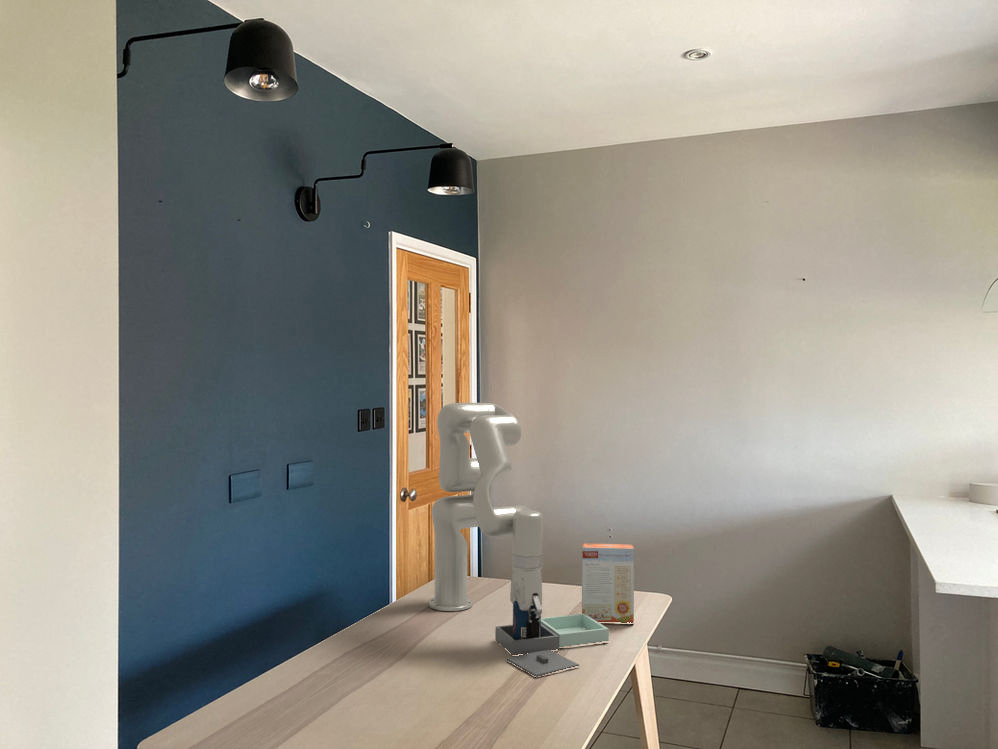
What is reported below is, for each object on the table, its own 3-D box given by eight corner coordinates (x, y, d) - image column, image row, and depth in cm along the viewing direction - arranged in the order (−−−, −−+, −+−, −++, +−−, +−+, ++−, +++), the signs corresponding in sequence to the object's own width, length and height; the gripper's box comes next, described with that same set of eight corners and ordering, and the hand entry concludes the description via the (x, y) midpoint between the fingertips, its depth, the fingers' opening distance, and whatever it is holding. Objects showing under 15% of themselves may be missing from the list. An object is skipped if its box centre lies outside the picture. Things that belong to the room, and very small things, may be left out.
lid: (506, 661, 184) (506, 653, 184) (547, 652, 191) (547, 644, 191) (536, 678, 174) (536, 670, 174) (578, 668, 181) (579, 660, 181)
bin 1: (495, 640, 199) (495, 626, 199) (539, 635, 203) (539, 621, 203) (513, 656, 188) (513, 641, 188) (558, 651, 192) (559, 636, 192)
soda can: (514, 640, 199) (515, 592, 199) (542, 642, 198) (542, 594, 198) (510, 649, 192) (511, 600, 192) (538, 651, 191) (539, 602, 191)
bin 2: (537, 632, 206) (537, 618, 206) (583, 627, 211) (584, 613, 211) (559, 649, 193) (559, 634, 193) (608, 643, 198) (608, 628, 198)
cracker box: (632, 619, 218) (633, 543, 218) (633, 626, 212) (634, 548, 212) (581, 617, 219) (582, 541, 219) (581, 624, 213) (582, 546, 213)
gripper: (500, 554, 202) (500, 624, 202) (527, 570, 186) (526, 646, 186) (527, 552, 205) (527, 621, 205) (556, 568, 189) (555, 642, 188)
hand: (526, 632), depth 195 cm, fingers closed on soda can, 6 cm apart
